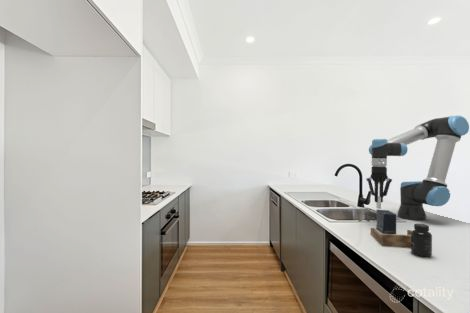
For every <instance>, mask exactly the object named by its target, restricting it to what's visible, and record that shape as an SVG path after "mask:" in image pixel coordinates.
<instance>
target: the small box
mask: <svg viewBox="0 0 470 313" xmlns="http://www.w3.org/2000/svg"><path fill="white" fill-rule="evenodd" d="M375 230H377V231H378V232H379V233H380V234H397V213H394V212H392V211H391V210H387V209H376V228H375Z"/></svg>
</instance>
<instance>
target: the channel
mask: <svg viewBox="0 0 470 313" xmlns="http://www.w3.org/2000/svg"><path fill="white" fill-rule="evenodd" d="M412 231H413V230H410V229H407V230H406V233H407V234H397V233H396V234H382V233H381V232H380V231H378V230H377V229H376V228H374V227H370V235H371V236H372V238H374V239H375V240H376V241H377V243H379V244H380V245H381V246H382V247H390V248H391V247H394V248H395V247H396V248H406V247H407V248H409V249H411V232H412Z"/></svg>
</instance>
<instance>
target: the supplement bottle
mask: <svg viewBox="0 0 470 313" xmlns="http://www.w3.org/2000/svg"><path fill="white" fill-rule="evenodd" d="M413 224H414V225H413V230H411V231H412V232H411V248H410V253H411V254H412V255H414V256H416V257H419V258H425V257H428V258H431V257H432V255H433V235H432V233H431V232H429V231H430V226H429V225H428V224H425V223H413Z"/></svg>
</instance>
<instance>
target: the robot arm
mask: <svg viewBox="0 0 470 313" xmlns="http://www.w3.org/2000/svg"><path fill="white" fill-rule="evenodd" d="M469 130H470V124H469V122H468V120H467V118H466V117H464V116H461V115H449V116H446V117H445V116H444V117H438V118H433V119H430V120H427V121H424V122H422V123H420V124H418V125H416V126H414V128H413V129H411V130H408V131H406V132H403V133H401V134H399V135H395V136H393V137H391V138H389V139H386V138H374V139H372V141H371V145H370V146H369V148H368V153H369V154H370V155H371V175H370V176H369V177H367V178H366V179H365V180H366V181H367V182H368V183H367V184H368V187H369V191H370V195H372V196H374V202H375V203H376V204H375V205H376V209H377V210H382V209H381V208H382V203H383V202H384V197H385V196H387V195H388V192H389V188H390V185H391V183H392V181H393V179H392V178H389V176H388V174H387V172H388V167H387V166H388V157H404V156H406V154H408V146H407V145H410V144H412V143H415V142H418V141H420V140H427V139H431V138H435V139H436V140H437V141H436V144H435V147H434V151H433V155H432V158H431V161H430V165H429V169H428V172H427V176H426V178H424V179H422V181H421V180H420V181H418V180H417V181H402V182H401V183H400V188H399V190H400V191H399V193H400V195H399V196H400V204H399V208H398V210H397V213H396V217H398V218H401V219H403V220H404V219H405V220H411V221H425V220H427V214H426V211H425V209H424V205H426V206H427V205H428V206H431V207H442V206H444V205H446V204H447V203H448V202H449V201H450V198H451V193H450V190H449V188H448V184H447V183H446V180H447V175H448V172H449V168H450V164H451V161H452V158H453V153H454V151H455V148H456V144H457V143H458V142H460V141H461V138H462V137H463V136H465V135H467V134H468V133H469ZM372 181H373V182H374V186H373V182H372ZM385 181H386V182H385ZM384 182H385V184H384ZM423 204H424V205H423Z"/></svg>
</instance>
